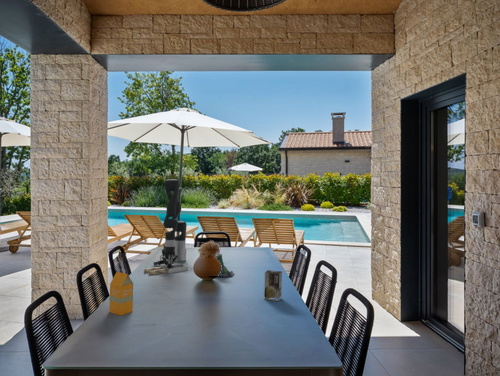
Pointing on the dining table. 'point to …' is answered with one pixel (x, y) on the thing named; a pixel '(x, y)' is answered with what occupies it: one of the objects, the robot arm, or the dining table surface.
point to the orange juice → (121, 294)
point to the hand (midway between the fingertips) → (169, 268)
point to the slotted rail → (155, 270)
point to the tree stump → (224, 268)
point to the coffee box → (273, 285)
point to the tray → (175, 268)
